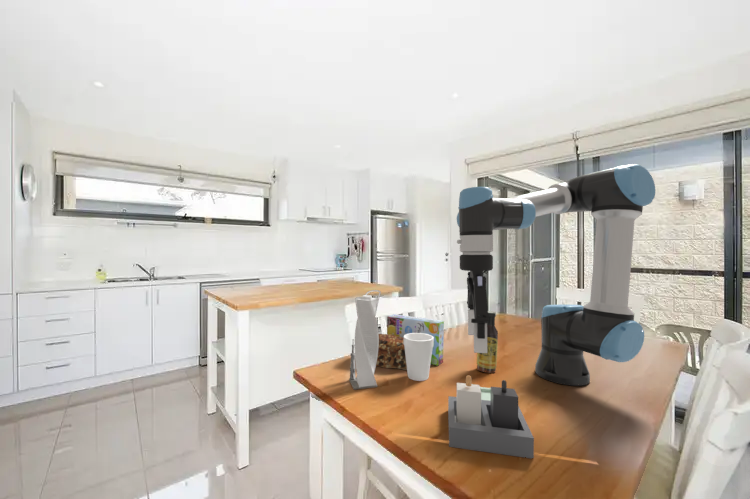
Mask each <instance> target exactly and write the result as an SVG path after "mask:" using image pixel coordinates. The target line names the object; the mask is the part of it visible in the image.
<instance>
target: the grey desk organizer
mask: <svg viewBox="0 0 750 499" xmlns="http://www.w3.org/2000/svg"><path fill="white" fill-rule="evenodd" d="M507 384H508V382H507V381H506V380H505V379H503V380H501V387H498V386H490V388H491V401H488V400H481V425H474V424H466V423H459V422H456V402H457V396H449V395H448V401H447V402H448V406H447V407H448V408H447V410H448V412H447V413H448V415H447V416H448V418H447V419H448V447H449V448H456V449H463V450H471V451H476V452H477V451H478V452H485V453H491V454H492V453H493V454H498V455H503V456H505V455H506V456H512V457H520V458H525V457H526V458H525V459H532V458H534V457H535V454H534V453H535V452H534V451H535V450H534V449H535V448H534V447H535V437H534V435H533V433H532V431H531V429H530V427H529V425H528V423H527V421H526V419H525V416H524V414H523V412H522V410H521V408H520V405H519V395H518V394H517V391H516V389H515V388H507Z"/></svg>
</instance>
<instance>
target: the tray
mask: <svg viewBox="0 0 750 499" xmlns="http://www.w3.org/2000/svg"><path fill="white" fill-rule="evenodd" d="M480 390H481V400H488V401H491V387H485V386H483V387H482V386H480Z"/></svg>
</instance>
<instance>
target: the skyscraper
mask: <svg viewBox="0 0 750 499" xmlns="http://www.w3.org/2000/svg"><path fill="white" fill-rule="evenodd" d="M374 292H377V293H378V297H373V295H370V293H374ZM381 293H382V291H381V290H378V289H371V290H368V291H367V292H365V294H363V295H362V296H357V297H355V298H354V302H355V309H356V314H357V318H356V324H355V330H354V338H353V339H352V344H351V353H350V364H349V365H350V366H349V378H348V380H349V382H350V385H351V388H352V389H353V390H363V389H372V388H378V384H377V381H376V378H375V371H376V367H377V366H376V363H377V357H378V348H379V334H380V333H379V326H378V322H377V317H376V315H377V311H378V305H379V299H380V296H381Z"/></svg>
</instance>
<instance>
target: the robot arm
mask: <svg viewBox="0 0 750 499" xmlns="http://www.w3.org/2000/svg"><path fill="white" fill-rule="evenodd" d="M655 197H656V185H655V180H654V179H653V176H652V174H651V173H650V171H649V170H648V169H647V168H646V167H644V166H642V165H640V164H637V163H634V164H633V163H632V164H626V165H618V166H615V167H612V168H608V169H603V170H598V171H594V172H591V173H585V174H581V175H579V176H576V177H572V178H570V179H567V180H565V181H561V182H558V183H555V184H552V185H550V186H548V188H546V189H542V190H538V191H533V192H528V193H524V194H520V195H519V194H518V195H515V196H511V197H507V198H505V197H504V198H503V197H495V196H494V195H493V190H492V188H490V187H488V186H471V187H468V188H464V189H462V190H461V191H460V193H459V198H458V212H457V215H456V223H457V224H456V225H457V226H458V228H459V230H458V232H459V239H457V241H456V243H457V244H459V252H460V253H462V254H460V256H459V269H460V270H461V271H463V272H464V271H465V272H466V271H467V272H468V273H467V277H466V284H467V286H466V288H467V298H466V300H467V301H466V305H467V335H468V336H473V353H476V354H477V353H487V322H489V318H488V311H489V310H488V296H487V277H486V275H485V276H484V272H489V271H492V270H493V269H494V256H493V255H492V254H491V253H493V251H494V234H493V233H494V232H493V231H501V230H522V229H525V230H526V229H527V228H529V227H531V225H533V223H534V222H535V221H536V217H541V216H546V215H548V214H555V215H562V214H567V213H580V212H581V213H582V212H590V215H591V216H592V217H593V218H594V219H595V220H596V226H595V227H596V228H595V235H594V236H595V237H594V238H595V239H594V248H593V249H594V252H593V262H592V264H593V265H592V277H591V284H590V285H591V286H590V299H589V302H587V303H586V304H584V305H582V304H547V305H544V306H543V308H542V310H541V326H540V327H541V328H540V329H541V349H540V352H539V355H538V357H537V360H536V362H535V365H534V366H535V368H534V370H535V372H534V373H535V374H536V375H537V376H539V377H540V378H542V379H544V380H546V381H549V382H552V383H555V384H560V385H566V386H573V387H574V386H576V387H577V386H579V387H580V386H586V385H589V384H590V381H591V380H590V379H591V375H590V371H589V368H588V366H587V362H586V360H585V356H584V353H588V354H591V355H594V356H597V357H600V358H602V359H603V360H604V359H605V360H609V361H613V362H617V363H627V362H630V361H631V360H633V359H635V357H636V356H637V355H638V354H639V353H640V352H641V350H642V348H643V345H644V341H645V331H644V329H643V325H641V323H639V322H638V321H635V313H634V312H633V310H631V309H630V308H629V296H630V283H631V272H632V270H631V269H632V258H633V257H632V256H633V246H634V245H633V244H634V243H633V242H634V230H635V221H636V220H637V219H638V218H640V216H642V215H643V208H644V207H646V206H648V205H650V204H651V203H653V200H655Z"/></svg>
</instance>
